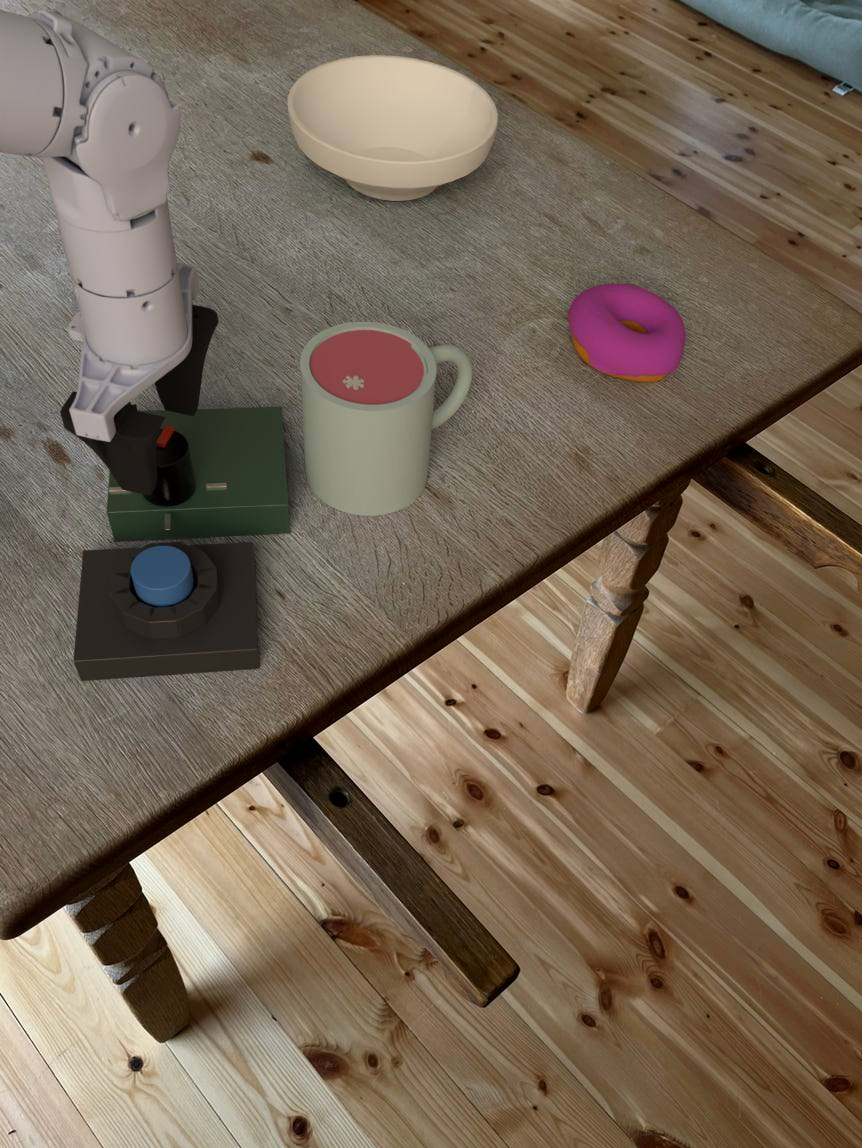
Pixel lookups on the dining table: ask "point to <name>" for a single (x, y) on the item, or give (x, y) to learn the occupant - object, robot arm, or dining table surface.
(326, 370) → the mug
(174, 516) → the panel
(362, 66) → the bowl
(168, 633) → the button block
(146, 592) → the plunger
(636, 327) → the donut
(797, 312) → the dining table surface
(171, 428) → the knob
